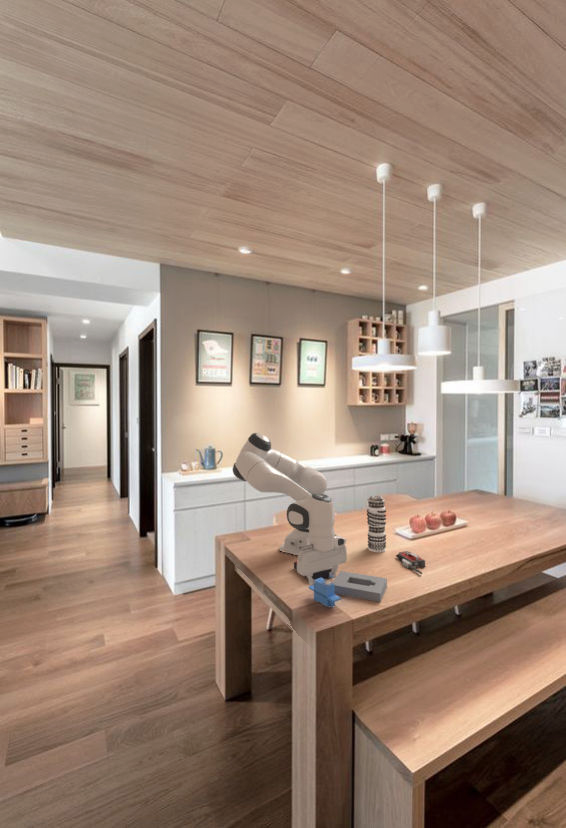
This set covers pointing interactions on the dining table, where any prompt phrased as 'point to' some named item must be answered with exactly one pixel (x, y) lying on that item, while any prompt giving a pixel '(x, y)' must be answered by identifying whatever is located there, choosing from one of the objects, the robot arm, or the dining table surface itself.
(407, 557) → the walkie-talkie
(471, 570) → the dining table surface
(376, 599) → the chassis deck
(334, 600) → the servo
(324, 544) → the robot arm
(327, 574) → the calculator
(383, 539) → the white patterned cylinder
